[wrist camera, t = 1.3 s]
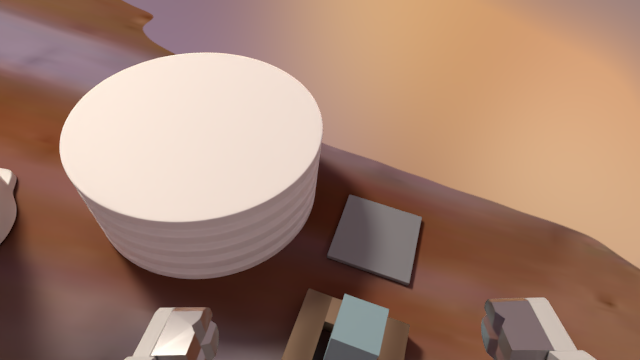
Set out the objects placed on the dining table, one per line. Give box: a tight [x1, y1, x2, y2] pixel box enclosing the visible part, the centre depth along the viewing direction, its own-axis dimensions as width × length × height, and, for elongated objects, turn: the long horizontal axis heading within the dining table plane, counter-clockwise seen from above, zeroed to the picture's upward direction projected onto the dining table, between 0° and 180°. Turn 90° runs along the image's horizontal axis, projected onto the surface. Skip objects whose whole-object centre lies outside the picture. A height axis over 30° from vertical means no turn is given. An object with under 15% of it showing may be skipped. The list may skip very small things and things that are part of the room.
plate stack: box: [60, 53, 323, 279], centre depth 46 cm, size 28×28×12 cm
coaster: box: [327, 195, 422, 286], centre depth 47 cm, size 10×10×1 cm
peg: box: [323, 294, 389, 360], centre depth 32 cm, size 4×4×12 cm
